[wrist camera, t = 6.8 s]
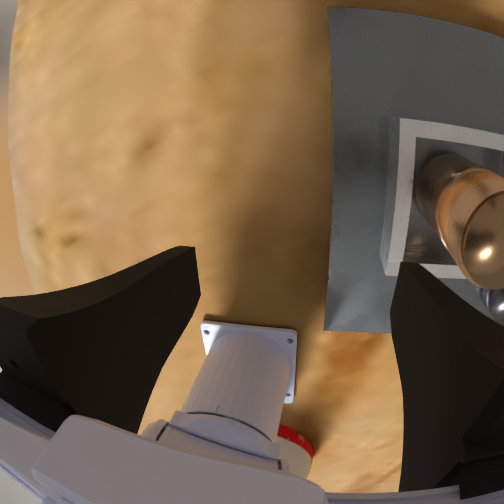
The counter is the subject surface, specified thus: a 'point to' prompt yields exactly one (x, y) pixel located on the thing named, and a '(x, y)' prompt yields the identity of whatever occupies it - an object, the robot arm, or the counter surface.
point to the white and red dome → (295, 450)
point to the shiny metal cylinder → (466, 215)
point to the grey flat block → (402, 151)
